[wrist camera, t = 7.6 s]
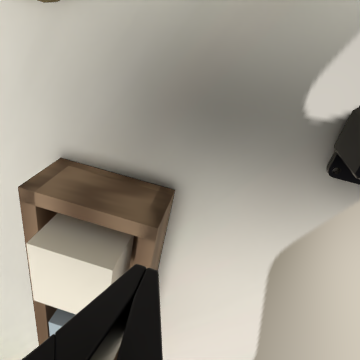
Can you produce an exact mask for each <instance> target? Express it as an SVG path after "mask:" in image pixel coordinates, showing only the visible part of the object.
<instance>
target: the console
mask: <svg viewBox="0 0 360 360" xmlns="http://www.w3.org/2000/svg"><path fill="white" fill-rule="evenodd" d="M18 191H19V199H20V206H21V214H22V221H23V229H24V236H25V244H26V243H27V242H28V241H29V240H30V239H31V238H32V237H33V236H34V235H35V234H36V233H38V232H39V231H40V230H41V229H42V228H43V227H44V226H45V225H46V224H47V223H48V222H49V221H50V220H51V219H52V218H53V217H54V216H55V215H56V214H57V213H61V214H64V215H67V216H71V217H74V218H77V219H80V220H84V221H87V222H90V223H94V224H97V225H100V226H104V227H107V228H110V229H114V230H117V231H120V232H124V233H127V234H130V235H134V239H133V246H132V253H131V260H130V268H131V267H132V266H134V265H135V264H139V265H142V266H145V267H146V268H152V269H155V270H157V271H158V266H159V262H160V257H161V252H162V248H163V243H164V239H165V234H166V229H167V225H168V220H169V216H170V211H171V207H172V202H173V197H174V193H175V190H173V189H169V188H166V187H162V186H159V185H155V184H152V183H148V182H145V181H141V180H138V179H134V178H130V177H127V176H123V175H120V174H116V173H113V172H109V171H106V170H102V169H99V168H95V167H91V166H88V165H84V164H81V163H77V162H74V161H70V160H67V159H63V158H60V159H58V160H57V161H55V162H54V163H52V164H51V165H50V166H48V167H47V168H45V169H44V170H42V171H41V172H39V173H38V174H36V175H35V176H33V177H32V178H31V179H29V180H28V181H26V182H25V183H23V184H22V185H20V186H19V187H18ZM26 251H27V245H26ZM27 259H28V253H27ZM28 266H29V260H28ZM130 268H129V269H130ZM29 274H30V268H29ZM30 281H31V276H30ZM31 289H32V283H31ZM32 296H33V291H32ZM33 304H34V311H35V319H36V326H37V334H38V341H39V345H41V344H42V343H43V342H44V341H45V340H46V339H48V338H49V337H50V333H49V320H50V319H51V317H52V316H53V315H54V313H55V312H56V310H57V309H58V308H55V307H52V306H49V305H46V304H43V303H40V302H37V301H34V299H33ZM119 348H120V347H119ZM118 352H119V349H118V351H117V353H116V356H115V358H114V360H116V359H117V356H118Z"/></svg>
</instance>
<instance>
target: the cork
mask: <svg viewBox="0 0 360 360" xmlns="http://www.w3.org/2000/svg"><path fill="white" fill-rule="evenodd" d="M38 1H41V2H58V1H59V0H38Z"/></svg>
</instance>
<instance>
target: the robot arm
mask: <svg viewBox="0 0 360 360" xmlns="http://www.w3.org/2000/svg"><path fill="white" fill-rule="evenodd" d="M334 148H335V150H336V151H335V153H334V155H333V157H332V159H331V161H330V163H329V164H328V166H327V172H328V174H329V175H330V176H331V177H333V178H337V179H341V180H345V181H348V182H352V183H356V184H360V106H359V108H357V109H355V110H353V111H352V113H351V115H350V117H349V119H348V121H347V123H346V125H345V127H344V128H343V130H342V132H341V134H340V136H339V138H338V140H337V142H336V144H335V146H334ZM334 168H339V170H338V171H336V172H333V169H334ZM119 347H120V348H119ZM118 349H119V352H118V356H117V359H116V360H163V356H162V336H161V315H160V295H159V274H158V271H157V270H155V269H152V268H146V267H145V266H142V265H139V264H135V265H134V266H132V267H131V268H130V269H129V270H128V271H127V272H125V273H124V274H123V275H122V276H121V277H119V278H118V279H117V280H116V281H115V282H114V283H112V284H111V285H110V286H109V287H108V288H107V289H105V290H104V291H103V292H102V293H101V294H100V295H98V296H97V297H96V298H95V299H94V300H92V301H91V302H90V303H89V304H88V305H87V306H85V307H84V308H83V309H82V310H81V311H80V312H78V313H77V314H76V315H75V316H74V317H72V318H71V319H70V320H69V321H68V322H67V323H65V324H64V325H63V326H62V327H61V328H60V329H58V330H57V331H56V332H55V334H52V335H51V336H50V337H49V338H48V339H46V340H45V341H44V342H43V343H42V344H41V345H39V346H38V347H37V348H36V349H34V350H33V351H32V352H31V353H29V354H28V355H27V356H26V357H24V358H23V359H22V360H113V359H114V357H115V355H116V353H117V351H118Z"/></svg>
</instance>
